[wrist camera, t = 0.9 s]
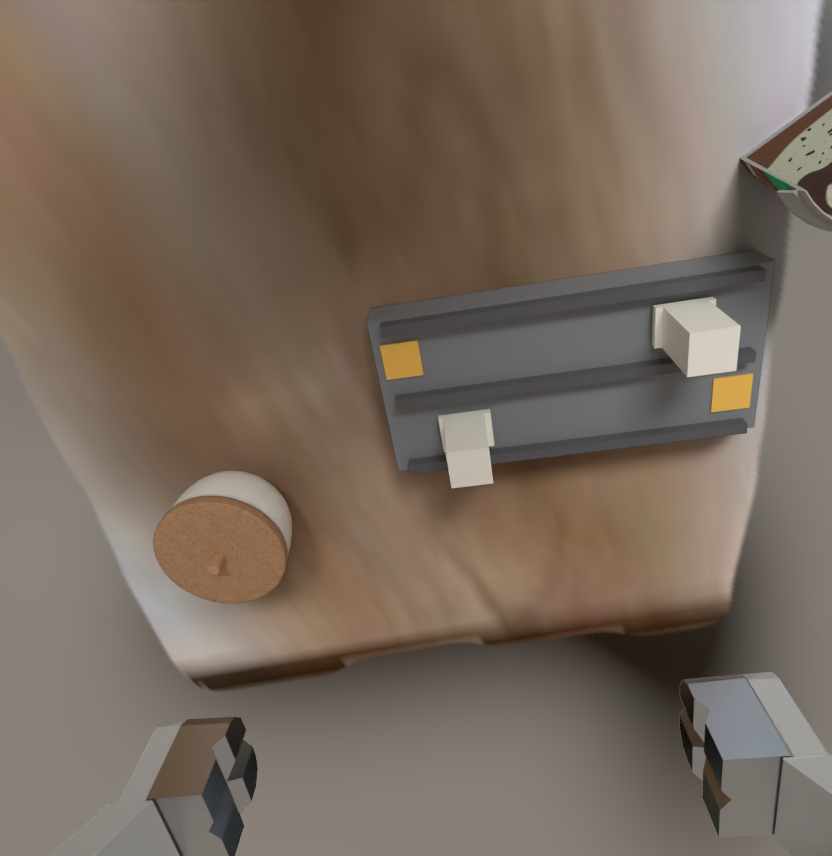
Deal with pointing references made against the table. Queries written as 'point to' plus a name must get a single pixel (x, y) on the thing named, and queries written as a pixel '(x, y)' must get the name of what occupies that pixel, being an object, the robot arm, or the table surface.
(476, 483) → the tab
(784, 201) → the food container
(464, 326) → the switch board
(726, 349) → the tab
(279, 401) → the table surface
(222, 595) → the lidded jar
